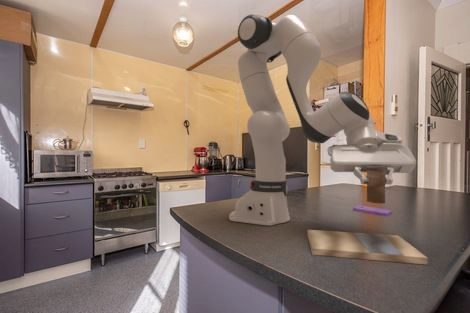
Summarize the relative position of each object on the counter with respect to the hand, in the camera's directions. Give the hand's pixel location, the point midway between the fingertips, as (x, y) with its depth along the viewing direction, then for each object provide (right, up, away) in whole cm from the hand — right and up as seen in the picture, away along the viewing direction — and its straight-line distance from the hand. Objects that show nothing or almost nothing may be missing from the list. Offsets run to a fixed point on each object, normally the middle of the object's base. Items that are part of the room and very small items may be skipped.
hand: (376, 182), depth 59 cm
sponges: (+21, -17, +37) cm, 46 cm away
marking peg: (0, -5, +1) cm, 5 cm away
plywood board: (-4, -17, +2) cm, 17 cm away
